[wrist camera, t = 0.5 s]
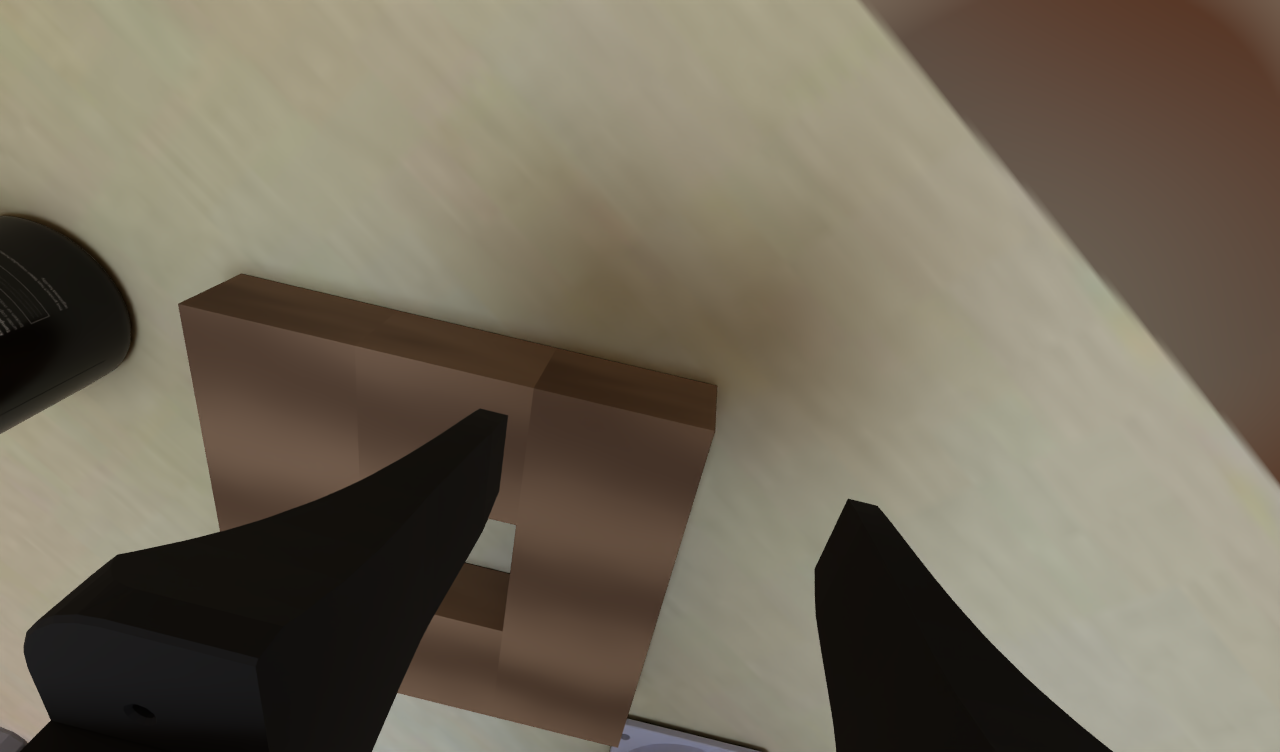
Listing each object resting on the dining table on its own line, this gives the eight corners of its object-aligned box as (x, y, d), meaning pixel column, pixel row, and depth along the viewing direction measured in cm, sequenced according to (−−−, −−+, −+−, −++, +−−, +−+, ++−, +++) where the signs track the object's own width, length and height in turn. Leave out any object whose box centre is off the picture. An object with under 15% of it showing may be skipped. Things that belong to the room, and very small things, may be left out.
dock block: (627, 688, 32) (617, 747, 29) (283, 603, 32) (242, 654, 29) (717, 385, 23) (715, 431, 20) (240, 274, 23) (178, 304, 21)
